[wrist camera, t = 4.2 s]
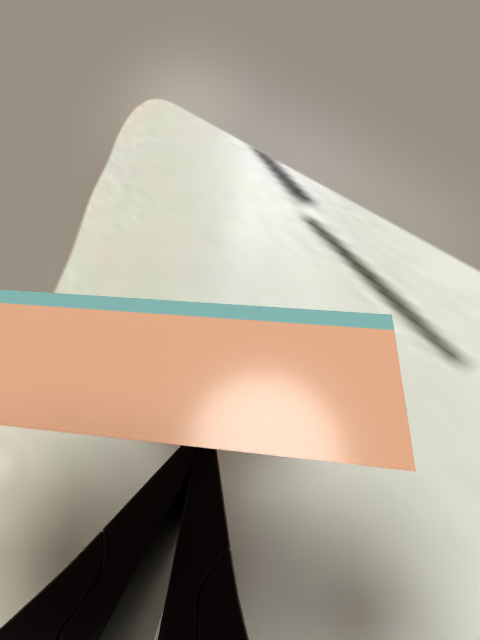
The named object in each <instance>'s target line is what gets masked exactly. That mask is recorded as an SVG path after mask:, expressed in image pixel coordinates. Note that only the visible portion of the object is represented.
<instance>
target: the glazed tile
mask: <svg viewBox="0 0 480 640" xmlns="http://www.w3.org/2000/svg"><path fill="white" fill-rule="evenodd" d="M0 425H5V426H14V427H23V428H32V429H40V430H49V431H58V432H67V433H76V434H85V435H94V436H103V437H112V438H121V439H130V440H139V441H148V442H157V443H166V444H175V445H184V446H193V447H202V448H211V449H220V450H229V451H238V452H247V453H256V454H265V455H274V456H283V457H292V458H301V459H310V460H319V461H328V462H337V463H346V464H355V465H363V466H372V467H381V468H390V469H399V470H408V471H416V470H415V464H414V457H413V451H412V444H411V437H410V431H409V424H408V418H407V411H406V405H405V398H404V392H403V385H402V379H401V372H400V366H399V359H398V353H397V346H396V340H395V333H394V327H393V320H392V315H386V314H371V313H355V312H340V311H324V310H309V309H293V308H277V307H262V306H246V305H231V304H215V303H199V302H184V301H168V300H153V299H137V298H122V297H106V296H90V295H75V294H59V293H43V292H27V291H11V290H0Z"/></svg>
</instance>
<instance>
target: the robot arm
mask: <svg viewBox="0 0 480 640" xmlns="http://www.w3.org/2000/svg"><path fill="white" fill-rule="evenodd" d="M230 549H231V547H230V540H229V533H228V526H227V519H226V512H225V505H224V498H223V491H222V484H221V477H220V470H219V463H218V456H217V449H211V448H202V447H193V446H184V445H181V446H180V448H179V449H178V450H177V451H176V452H175V453H174V454H173V455H172V456H171V457H170V458H169V459H168V460H167V461H166V462H165V464H164V465H163V466H162V467H161V468H160V469H159V470H158V471H157V472H156V473H155V474H154V475H153V476H152V477H151V478H150V480H149V481H148V482H147V483H146V484H145V485H144V486H143V487H142V488H141V489H140V490H139V491H138V492H137V493H136V494H135V496H134V497H133V498H132V499H131V500H130V501H129V502H128V503H127V504H126V505H125V506H124V507H123V508H122V509H121V510H120V512H119V513H118V514H117V515H116V516H115V517H114V518H113V519H112V520H111V521H110V522H109V523H108V524H107V525H106V526H105V528H104V529H103V532H102V531H101V532H100V533H99V534H98V535H97V536H96V537H95V538H94V539H93V540H92V541H91V542H90V543H89V544H88V545H87V546H86V548H85V549H84V550H83V551H82V552H81V553H80V554H79V555H78V556H77V557H76V558H75V559H74V560H73V561H72V562H71V563H70V564H69V565H68V566H67V567H66V568H65V569H64V570H63V571H62V572H61V573H60V574H59V575H57V576H56V577H55V578H54V579H53V580H52V581H51V582H50V583H49V584H48V585H47V586H46V587H45V588H44V589H43V590H42V591H41V592H39V593H38V594H37V595H36V596H35V597H34V598H33V599H32V600H31V601H30V602H29V603H28V604H26V605H25V606H24V607H23V608H22V609H21V610H20V611H19V612H18V613H17V614H16V615H14V616H13V617H12V618H11V619H10V620H9V621H8V622H7V623H6V624H5V625H4V626H3V627H1V628H0V640H153V639H154V636H155V633H156V629H157V626H158V623H159V620H160V616H161V613H162V610H163V607H164V611H163V616H162V621H161V626H160V632H159V637H158V640H249V638H248V634H247V630H246V626H245V622H244V618H243V613H242V609H241V604H240V600H239V596H238V590H237V584H236V579H235V573H234V567H233V560H232V553H231V550H230ZM164 603H165V606H164Z"/></svg>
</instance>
